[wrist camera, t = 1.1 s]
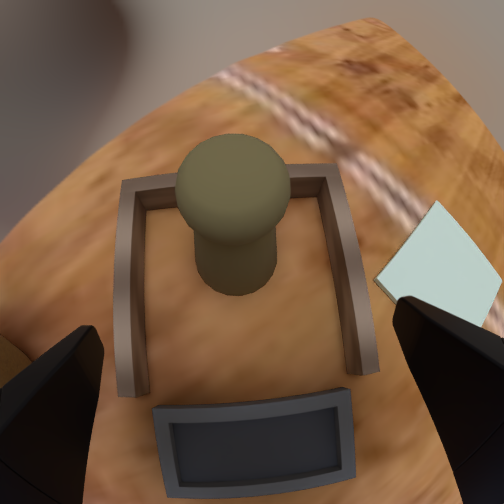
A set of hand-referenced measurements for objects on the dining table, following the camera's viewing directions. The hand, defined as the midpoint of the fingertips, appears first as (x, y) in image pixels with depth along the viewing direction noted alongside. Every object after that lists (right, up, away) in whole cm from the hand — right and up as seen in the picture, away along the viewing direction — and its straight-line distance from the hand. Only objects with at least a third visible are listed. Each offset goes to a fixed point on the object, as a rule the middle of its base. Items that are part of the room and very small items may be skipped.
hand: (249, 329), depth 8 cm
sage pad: (+17, 0, +14) cm, 22 cm away
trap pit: (0, -11, +9) cm, 15 cm away
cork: (-1, +2, +14) cm, 14 cm away
